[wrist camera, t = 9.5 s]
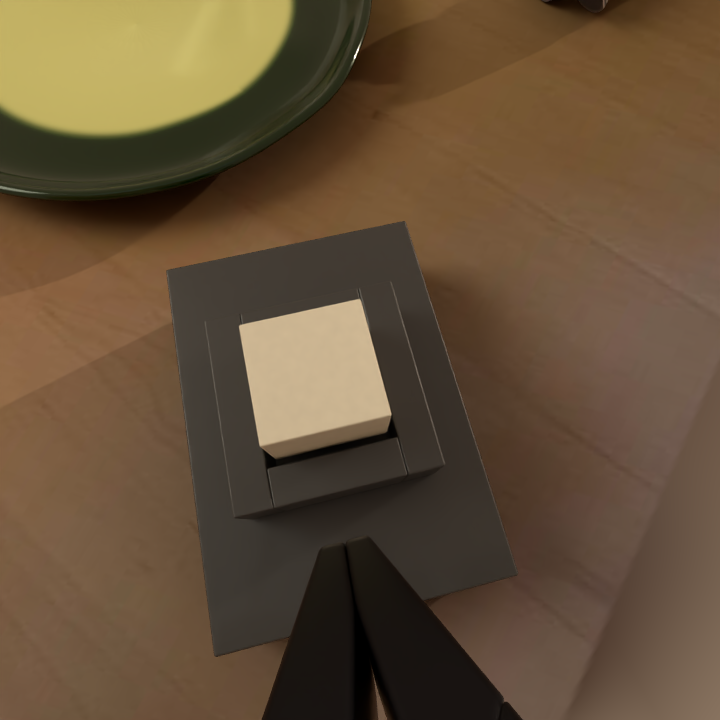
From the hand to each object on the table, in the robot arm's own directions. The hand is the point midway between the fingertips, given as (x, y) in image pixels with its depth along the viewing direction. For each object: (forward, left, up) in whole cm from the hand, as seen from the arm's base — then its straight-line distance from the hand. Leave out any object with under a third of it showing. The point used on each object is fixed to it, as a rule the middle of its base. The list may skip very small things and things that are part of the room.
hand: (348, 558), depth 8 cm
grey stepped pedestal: (+4, -3, -12) cm, 13 cm away
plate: (+29, -13, -12) cm, 34 cm away
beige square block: (+4, -3, -6) cm, 8 cm away
